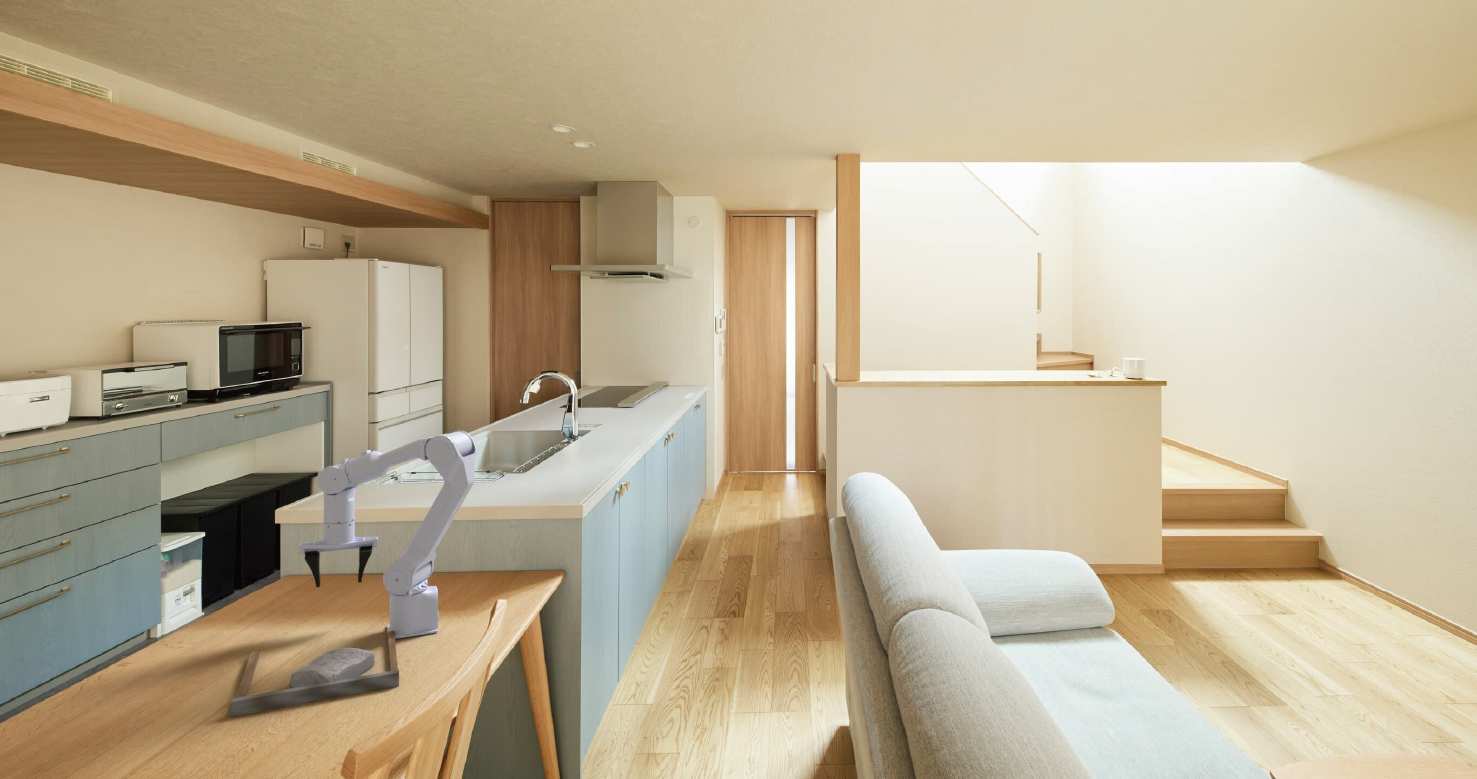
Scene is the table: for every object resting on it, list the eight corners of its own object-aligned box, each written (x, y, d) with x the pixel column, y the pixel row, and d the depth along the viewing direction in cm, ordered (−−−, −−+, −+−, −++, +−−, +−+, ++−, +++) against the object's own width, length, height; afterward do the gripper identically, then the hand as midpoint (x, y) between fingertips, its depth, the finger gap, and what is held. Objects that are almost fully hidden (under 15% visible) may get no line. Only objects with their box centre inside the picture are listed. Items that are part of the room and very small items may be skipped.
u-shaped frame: (394, 636, 143) (394, 624, 142) (399, 686, 122) (399, 672, 122) (251, 657, 131) (251, 645, 131) (230, 717, 110) (230, 702, 110)
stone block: (284, 701, 119) (336, 696, 118) (280, 674, 119) (332, 668, 118) (332, 672, 131) (380, 667, 130) (328, 647, 131) (376, 642, 130)
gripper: (377, 513, 152) (377, 573, 153) (300, 519, 145) (300, 581, 146) (378, 521, 146) (377, 583, 147) (297, 527, 139) (297, 592, 140)
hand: (339, 583), depth 146 cm, fingers open, 7 cm apart
